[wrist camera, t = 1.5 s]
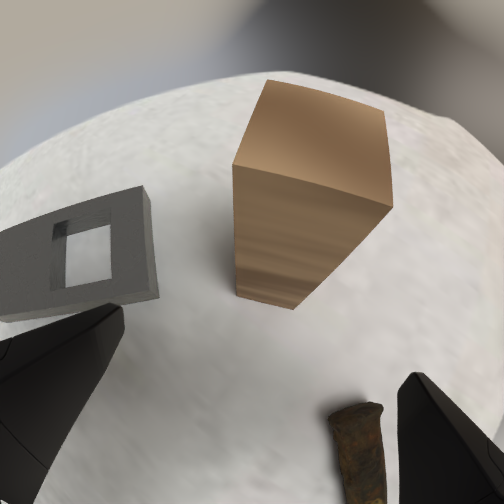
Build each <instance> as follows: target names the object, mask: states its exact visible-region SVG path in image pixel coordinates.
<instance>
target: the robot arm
mask: <svg viewBox="0 0 504 504" xmlns="http://www.w3.org/2000/svg"><path fill="white" fill-rule="evenodd" d="M124 330H125V324H124V313H123V308H122V307H121V306H120V305H117V304H114V303H111V302H109V303H106V304H103V305H101V306H98V307H95V308H92V309H89V310H87V311H84V312H81V313H78V314H75V315H73V316H70V317H67V318H64V319H61V320H59V321H56V322H53V323H50V324H47V325H45V326H42V327H39V328H36V329H33V330H31V331H28V332H25V333H22V334H19V335H17V336H14V337H13V338H12V337H11V338H8V339H5V340H3V341H0V500H3V501H5V502H6V503H8V504H33V503H34V500H35V498H36V496H37V494H38V492H39V490H40V488H41V485H42V483H43V481H44V479H45V477H46V475H47V473H48V471H49V469H50V467H51V465H52V463H53V461H54V459H55V457H56V455H57V454H58V452H59V450H60V448H61V446H62V444H63V442H64V441H65V439H66V437H67V435H68V433H69V432H70V430H71V428H72V426H73V425H74V423H75V421H76V419H77V418H78V416H79V414H80V412H81V411H82V409H83V407H84V406H85V404H86V402H87V401H88V399H89V397H90V396H91V394H92V392H93V391H94V389H95V387H96V386H97V384H98V383H99V381H100V379H101V378H102V376H103V374H104V373H105V371H106V369H107V367H108V365H109V362H110V360H111V358H112V356H113V354H114V352H115V350H116V348H117V346H118V344H119V342H120V340H121V338H122V336H123V334H124ZM397 407H398V420H397V436H398V454H399V504H504V453H503V452H502V451H501V450H500V449H499V448H498V447H497V446H496V445H495V444H494V443H493V442H492V441H491V440H490V439H489V438H488V437H487V436H486V435H485V434H484V433H483V432H482V430H481V429H480V428H479V427H478V426H477V425H476V424H475V423H474V422H473V421H472V420H471V419H470V418H469V417H468V416H467V415H466V414H465V413H464V412H463V411H462V410H461V409H460V408H459V407H458V406H457V405H456V404H455V403H454V402H453V401H452V400H451V399H450V398H449V397H448V396H447V395H446V394H445V393H444V392H443V391H442V390H441V389H440V388H439V387H438V386H437V385H436V384H435V383H434V382H432V381H431V380H430V379H429V378H428V377H427V376H426V375H425V374H424V373H422V372H412V373H411V374H410V375H409V376H408V378H407V379H406V380H405V382H404V383H403V384H402V385H401V387H400V388H399V390H398V394H397ZM0 504H1V501H0Z"/></svg>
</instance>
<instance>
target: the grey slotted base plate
mask: <svg viewBox="0 0 504 504" xmlns="http://www.w3.org/2000/svg"><path fill="white" fill-rule="evenodd" d="M108 224H111V269H112V279H108V280H103V281H98V282H93V283H88V284H83V285H78V286H73V287H68V288H65V258H66V238H67V236H68V235H71V234H75V233H78V232H82V231H85V230H89V229H93V228H97V227H100V226H104V225H108ZM158 298H159V290H158V283H157V275H156V266H155V256H154V246H153V235H152V221H151V205H150V199H149V197H148V195H147V193H146V191H145V189H144V187H143V185H142V186H138V187H134V188H130V189H126V190H123V191H119V192H115V193H111V194H108V195H104V196H101V197H97V198H94V199H91V200H87V201H84V202H81V203H78V204H74V205H71V206H68V207H65V208H62V209H59V210H56V211H53V212H50V213H48V214H45V215H42V216H39V217H37V218H34V219H31V220H28V221H26V222H23V223H21V224H18V225H16V226H13V227H11V228H8V229H6V230H3V231H1V232H0V321H2V322H6V323H8V322H15V321H23V320H30V319H37V318H44V317H51V316H57V315H64V314H70V313H77V312H83V311H87V310H89V309H92V308H95V307H98V306H101V305H103V304H106V303H109V302H111V303H114V304H117V305H125V304H130V303H136V302H141V301H147V300H152V299H158Z"/></svg>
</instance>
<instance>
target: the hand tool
mask: <svg viewBox="0 0 504 504" xmlns="http://www.w3.org/2000/svg"><path fill="white" fill-rule="evenodd" d="M383 410H384V407H383V406H382V404H378V403H373V402H367V403H361V404H358V405H355V406H351V407H347V408H344V409H341V410H339V411H337V412H335V413H333V414H331V415H330V416H328V420H329V424H330V426H331V427H332V428H333V429H334V431H333V434H334V435H333V439H334V440H335V441H336V442H337V443H338V453H339V462H340V469H341V474H342V475H343V477H344V487H345V493H346V499H347V504H387V481H386V469H385V457H384V449H383V442H382V434H381V427H380V417H381V414H382V412H383Z"/></svg>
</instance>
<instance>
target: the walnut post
mask: <svg viewBox="0 0 504 504" xmlns="http://www.w3.org/2000/svg"><path fill="white" fill-rule="evenodd" d="M232 172H233V209H234V240H235V267H236V291H237V296H238V297H242V298H246V299H250V300H254V301H258V302H262V303H266V304H270V305H275V306H279V307H283V308H287V309H292V310H294V309H295V308H296V307H297V306H298V305H299V304H300V303H301V302H302V301H303V300H304V299H305V298H306V297H307V296H308V295H309V294H310V293H311V292H313V291H314V290H315V289H316V288H317V287H318V286H319V285H320V284H321V283H322V282H323V281H324V280H325V279H326V278H327V277H328V276H329V275H330V274H331V273H332V272H333V271H334V270H335V269H336V268H337V267H338V266H339V265H340V264H341V263H342V262H343V261H344V260H345V259H346V258H347V257H348V256H349V255H350V253H351V252H352V251H353V250H354V249H355V248H356V247H357V246H358V245H359V244H360V243H361V242H362V241H363V240H364V239H365V238H366V237H367V235H368V234H369V233H370V232H371V231H372V230H373V229H374V228H375V227H376V226H377V225H378V224H379V222H380V221H381V220H382V219H383V218H384V217H385V216H386V215H387V213H388V212H389V211H390V210H391V209H392V208H393V192H392V176H391V164H390V154H389V145H388V137H387V130H386V123H385V116H384V111H382V110H379V109H376V108H374V107H371V106H368V105H365V104H362V103H359V102H356V101H353V100H350V99H347V98H343V97H340V96H337V95H333V94H330V93H326V92H322V91H319V90H315V89H311V88H307V87H302V86H298V85H294V84H289V83H284V82H279V81H274V80H268V79H267V81H266V83H265V86H264V88H263V90H262V93H261V95H260V97H259V100H258V102H257V104H256V107H255V109H254V111H253V114H252V116H251V119H250V121H249V123H248V126H247V128H246V131H245V133H244V136H243V138H242V141H241V143H240V146H239V148H238V151H237V153H236V156H235V159H234V161H233V164H232Z"/></svg>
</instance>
